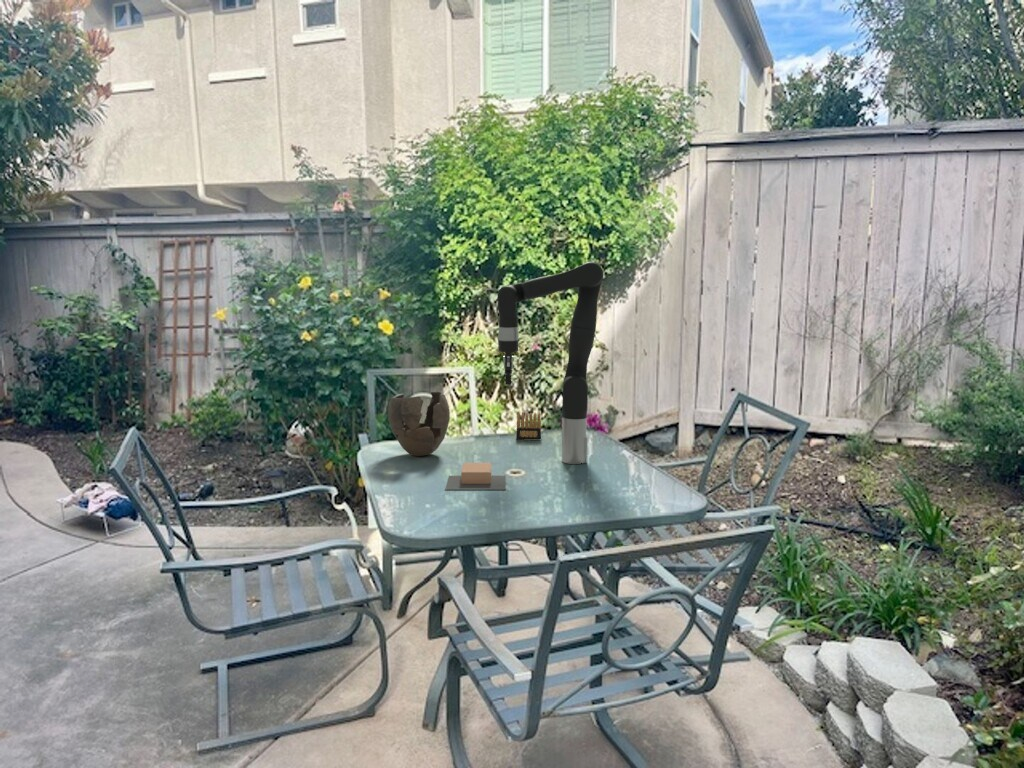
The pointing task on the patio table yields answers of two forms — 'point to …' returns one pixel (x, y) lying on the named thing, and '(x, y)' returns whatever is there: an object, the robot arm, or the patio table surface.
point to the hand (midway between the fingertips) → (508, 384)
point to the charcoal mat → (496, 484)
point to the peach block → (476, 473)
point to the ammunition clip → (528, 427)
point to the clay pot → (415, 434)
